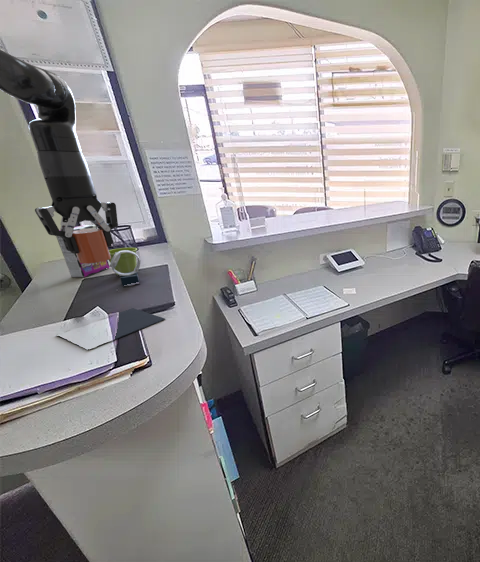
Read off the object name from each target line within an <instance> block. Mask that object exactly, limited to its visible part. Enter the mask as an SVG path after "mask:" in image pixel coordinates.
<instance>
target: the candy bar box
mask: <svg viewBox="0 0 480 562" xmlns="http://www.w3.org/2000/svg"><path fill="white" fill-rule="evenodd" d="M83 229H98V227H97V226H96V225H95V224H83V225H79V226H78V225H77V226H75V227H74V229H73V231H76V230H83ZM59 231H60V229H59ZM55 238H56V240H57V242H58V246H59V248H60V251H61V253H62V255H63V258H64V262H65V264H66V266H67V269H68V272H69V274H70V277H71V278H87V277H89V276H92V275H95V274H97V273H100V272H102V270H103V271H105V270H107V269H106V268H108V269H110V268H111V267H110V262H109V260H106V261H102V262H97V263H87V264H84V263H79V260H78V257H77V254H74V253H71V252H70V251H68V250H67V249H66V247H65V244H64V241H63V239H62V237H60V236H55ZM109 267H110V268H109ZM104 269H105V270H104Z"/></svg>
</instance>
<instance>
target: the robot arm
mask: <svg viewBox="0 0 480 562" xmlns="http://www.w3.org/2000/svg"><path fill="white" fill-rule="evenodd" d="M0 91H1V92H3V93H5V94H7V95H8V96H11V97H12V98H14V99H16V100H19V101H22V102H24V103H26V104H30V105H33V106H36V107H37V119H33V120H31V121H29V123H28V129H29V130H28V131H29V133H30V136H31V139H32V142H33V145H34V148H35V150H36V154H37V160H38V164H39V167H40V170H41V173H42V176H43V178H44V181H45V185H46V187H47V191H48V193H49V196H50V198H51V201H52V202H51V204H50V206H45V207H36V208H35V209H34V213H35V214H36V215H37V217H38V219H39V221H40V223H41V224H42V226H43V228H44V229H45V231H46V233H47V234H48V235H49V236H54V237H56V236H60V237H62V239H63V241H64V244H65V247H66V249H67V250H68V251H70V252H71V253H74V254H76V253H79V250H78V247H77V244H76V241H75V238H74V237H72V234H73V229H74V227H77V223H82V222H85V221H86V222H90V223H92V225H96V226H97V229H102V230H103V233H104V236H105V239H106V243H107V246H108V248H112V246H113V244H114V240H113V237H112V233H111V231H112V230H113V229H116V228H118V227H119V222H118V213H117V205H116V203H115V202H111V201H106V202H102V201H100V199H98V197H97V192H96V188H95V185H94V181H93V178H92V175H91V170H90V168H89V165H88V162H87V160H86V158H85V155H84V153H83V150H82V147H81V144H80V140H79V137H78V134H77V130H76V128H77V113H76V101H75V97H74V94H73V92H72V90H71V88H70V86H69V85H68V83H67V82H66V80H65V79H63V78H62V77H61V76H60V75H58V74H56V73H55V72H52V71H50V70H47V69H44V68H42V67H39V66H36V65H34V64H31V63H29V62H26V61H24V60H22V59H20V58H18V57H16V56H13V54H10V53H8V52H6V50H5V49H3V48H2V47H1V46H0ZM101 209H102V211H103V212H104V214H105V219H104V218H103V217H102V216H101V215H100V214H99V212H100V210H101ZM54 212H55V213H57V214H58V215H59V216H61V219H60V229H59V227H58V226H57V224H56V222H55V220H54V219H53V218H54V216H55V213H54ZM59 230H60V231H59Z"/></svg>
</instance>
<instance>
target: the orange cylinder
mask: <svg viewBox="0 0 480 562" xmlns="http://www.w3.org/2000/svg"><path fill="white" fill-rule="evenodd" d="M72 237H74V238H75V241H76V244H77V247H78V250H79V253H76V254H77V257H78V260H79V263H84V264H87V263H97V262H102V261H106V260H108V261H109V259H111V256H110V252H109V250H110V249H109V247H108V246H107V243H106V239H105V236H104V233H103V230H102V229H98V228H97V229H83V230H76V231H73V234H72Z"/></svg>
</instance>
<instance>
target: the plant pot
mask: <svg viewBox="0 0 480 562" xmlns="http://www.w3.org/2000/svg"><path fill="white" fill-rule="evenodd" d="M122 250H126V251H127V250H129V251H132V252H134V253H136V254H137V251H138V248H137V247H120V248H119V247H118V248H114V249H109V252H110V256H111V259H109V260H108V263H109V264H110V263H111V260H112V258H113V256H114V254H115V252H117V253H118V252H119V251H122ZM136 265H137V257H136V256H135V255H133V254H131V253H127V252H126V253H121V254H120V258H119V261H118V263H117V265H116V267H115V268H114V269H115V270H117V271H118V272H121V273H128V272H133V271H134V269H135V267H136ZM114 273H115V272H114ZM117 275H118V274H116V273H115V276H117Z"/></svg>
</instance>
